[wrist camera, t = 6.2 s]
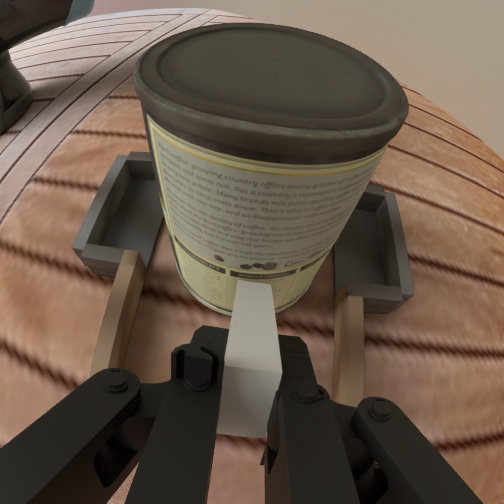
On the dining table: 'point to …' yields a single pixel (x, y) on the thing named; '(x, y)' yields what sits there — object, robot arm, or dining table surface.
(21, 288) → the dining table surface
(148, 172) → the box
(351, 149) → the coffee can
